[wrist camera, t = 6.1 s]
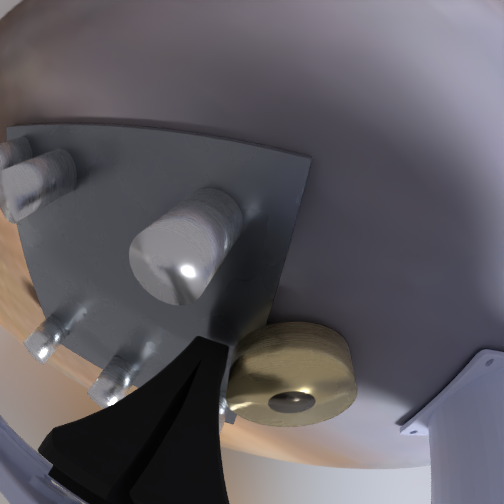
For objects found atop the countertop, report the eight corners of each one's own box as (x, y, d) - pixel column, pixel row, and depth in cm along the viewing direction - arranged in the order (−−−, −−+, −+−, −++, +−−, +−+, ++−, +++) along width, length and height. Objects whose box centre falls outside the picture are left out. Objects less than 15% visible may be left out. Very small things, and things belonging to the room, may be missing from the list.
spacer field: (312, 157, 7) (304, 190, 5) (235, 418, 16) (219, 463, 13) (13, 125, 9) (-38, 143, 6) (58, 336, 18) (33, 364, 15)
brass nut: (369, 329, 10) (381, 371, 8) (324, 395, 12) (327, 429, 11) (240, 311, 10) (234, 357, 8) (225, 383, 12) (219, 420, 11)
